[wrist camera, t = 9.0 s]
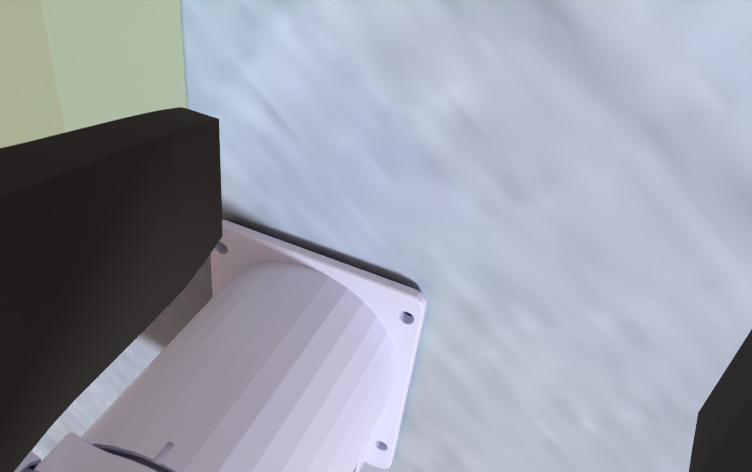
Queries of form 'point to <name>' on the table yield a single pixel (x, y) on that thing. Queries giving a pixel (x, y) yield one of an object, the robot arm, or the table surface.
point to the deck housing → (86, 64)
